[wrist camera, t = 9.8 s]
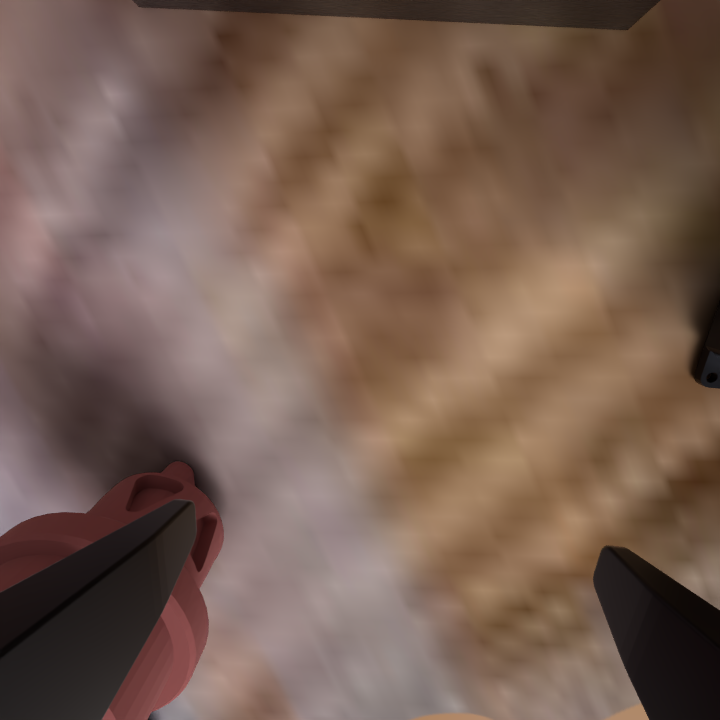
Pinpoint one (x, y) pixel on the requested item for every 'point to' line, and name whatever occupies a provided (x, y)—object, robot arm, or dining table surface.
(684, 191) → the dining table surface
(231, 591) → the dining table surface
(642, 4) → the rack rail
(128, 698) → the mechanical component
